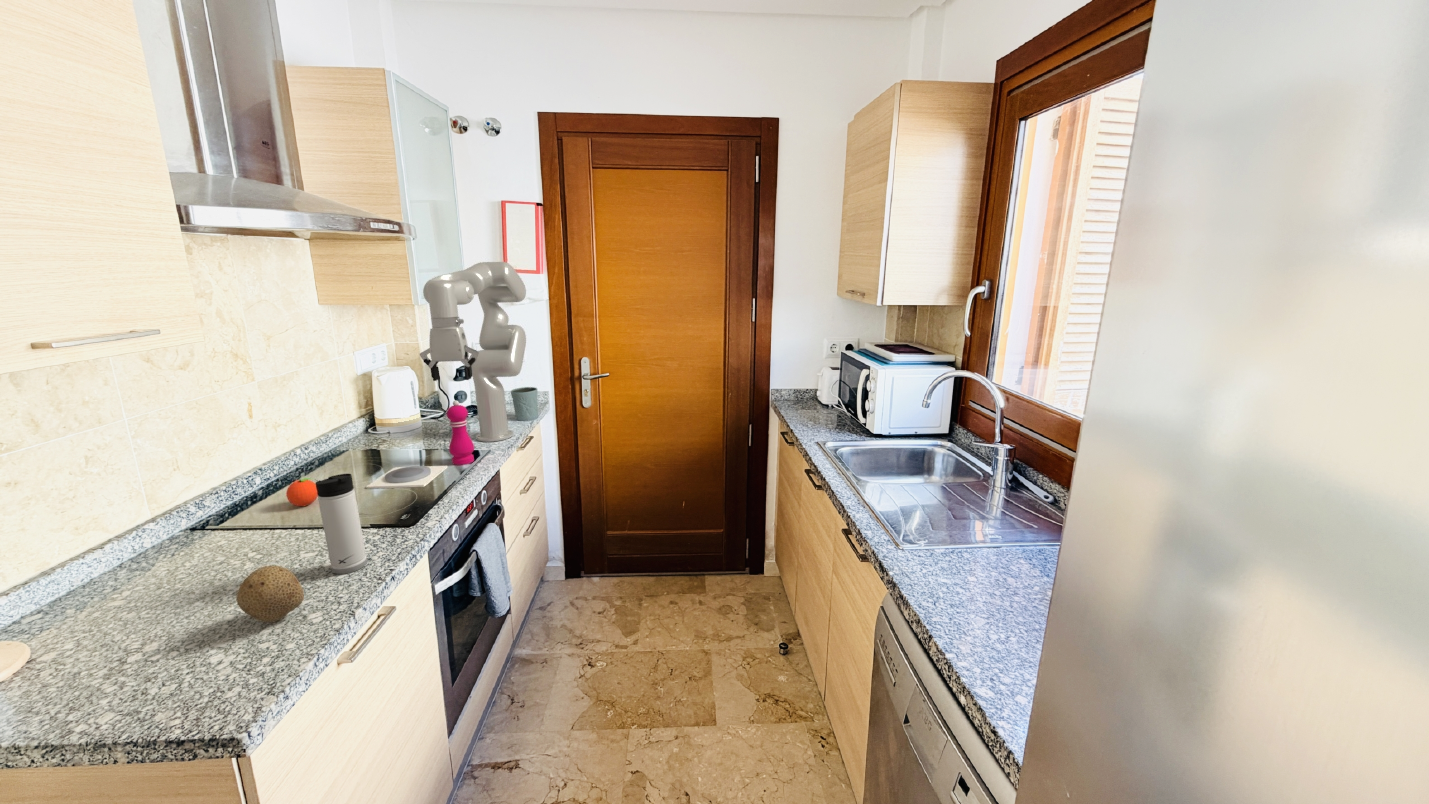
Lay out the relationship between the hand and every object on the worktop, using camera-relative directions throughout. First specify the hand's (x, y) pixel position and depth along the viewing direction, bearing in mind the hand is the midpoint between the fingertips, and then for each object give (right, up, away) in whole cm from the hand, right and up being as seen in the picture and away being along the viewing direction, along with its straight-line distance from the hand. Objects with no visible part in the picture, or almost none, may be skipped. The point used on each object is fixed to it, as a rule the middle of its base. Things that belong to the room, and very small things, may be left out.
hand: (452, 379), depth 179 cm
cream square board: (-10, -29, -6) cm, 31 cm away
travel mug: (+5, -41, -58) cm, 71 cm away
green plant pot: (+4, -14, +58) cm, 59 cm away
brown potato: (+2, -45, -75) cm, 88 cm away
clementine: (-27, -34, -24) cm, 50 cm away
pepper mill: (+1, -26, +6) cm, 27 cm away
